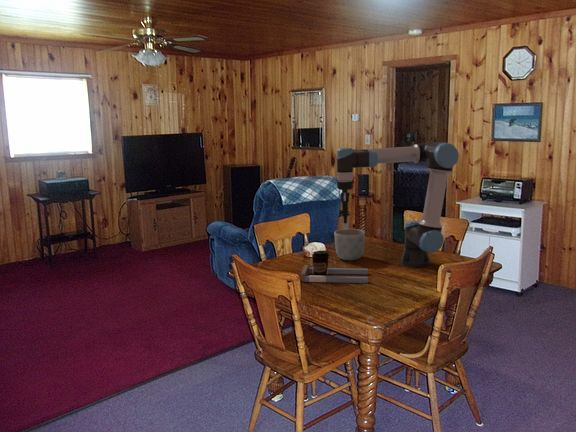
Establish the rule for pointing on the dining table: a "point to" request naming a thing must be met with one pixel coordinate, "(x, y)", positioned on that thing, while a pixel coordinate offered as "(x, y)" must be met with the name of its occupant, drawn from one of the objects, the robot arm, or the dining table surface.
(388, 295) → the dining table surface
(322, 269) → the coffee cup
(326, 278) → the beam slot
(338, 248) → the planter
